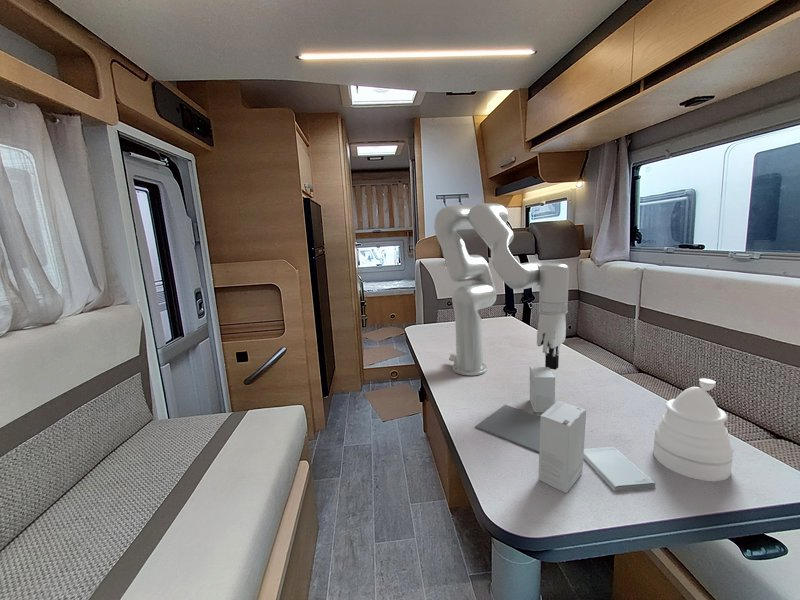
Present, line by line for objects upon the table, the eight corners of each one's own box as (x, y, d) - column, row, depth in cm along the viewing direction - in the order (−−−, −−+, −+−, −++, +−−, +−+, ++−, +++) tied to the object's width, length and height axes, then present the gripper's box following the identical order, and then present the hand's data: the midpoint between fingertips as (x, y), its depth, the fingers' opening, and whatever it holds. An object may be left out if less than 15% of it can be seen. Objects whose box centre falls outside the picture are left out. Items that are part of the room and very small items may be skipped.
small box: (554, 413, 99) (555, 377, 97) (533, 412, 100) (533, 376, 98) (549, 400, 106) (549, 366, 105) (529, 399, 108) (529, 366, 106)
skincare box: (555, 462, 78) (557, 398, 76) (584, 474, 74) (587, 407, 71) (537, 481, 73) (538, 413, 70) (567, 496, 68) (570, 424, 66)
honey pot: (694, 441, 83) (702, 368, 80) (749, 479, 70) (760, 393, 67) (639, 445, 83) (645, 371, 80) (684, 483, 70) (692, 397, 67)
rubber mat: (475, 427, 94) (475, 426, 94) (505, 405, 105) (505, 404, 104) (551, 458, 80) (552, 456, 80) (577, 429, 90) (577, 427, 90)
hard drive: (656, 482, 69) (614, 445, 81) (614, 486, 69) (579, 448, 81) (655, 490, 69) (613, 452, 82) (614, 494, 69) (578, 455, 81)
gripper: (550, 301, 111) (549, 358, 114) (528, 310, 100) (528, 372, 103) (576, 303, 105) (574, 363, 109) (556, 313, 95) (554, 379, 98)
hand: (551, 367), depth 106 cm, fingers closed
